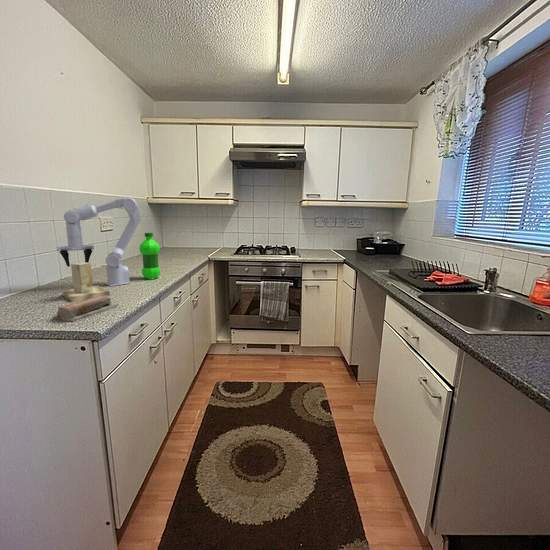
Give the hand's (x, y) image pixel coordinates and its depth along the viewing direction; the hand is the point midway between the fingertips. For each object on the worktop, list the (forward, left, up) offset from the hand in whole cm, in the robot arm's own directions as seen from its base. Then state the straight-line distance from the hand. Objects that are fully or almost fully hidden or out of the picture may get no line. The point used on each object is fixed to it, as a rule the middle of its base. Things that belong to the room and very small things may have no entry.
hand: (77, 265), depth 140 cm
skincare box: (+4, +19, -9) cm, 21 cm away
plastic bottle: (-33, +5, -11) cm, 35 cm away
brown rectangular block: (+10, +44, -11) cm, 46 cm away
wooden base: (+3, +19, -10) cm, 22 cm away
